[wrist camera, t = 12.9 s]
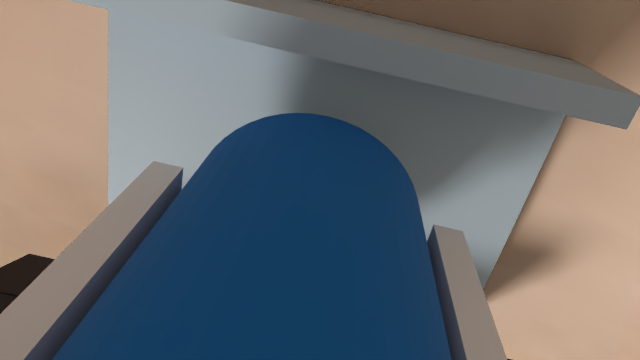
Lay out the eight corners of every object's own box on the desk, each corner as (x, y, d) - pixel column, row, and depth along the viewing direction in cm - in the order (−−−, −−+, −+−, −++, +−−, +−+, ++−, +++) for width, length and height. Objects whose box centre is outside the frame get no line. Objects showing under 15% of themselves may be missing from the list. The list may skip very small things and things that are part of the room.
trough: (120, 241, 19) (62, 309, 15) (124, -45, 14) (43, -43, 11) (457, 316, 19) (478, 401, 16) (574, 60, 14) (643, 97, 11)
